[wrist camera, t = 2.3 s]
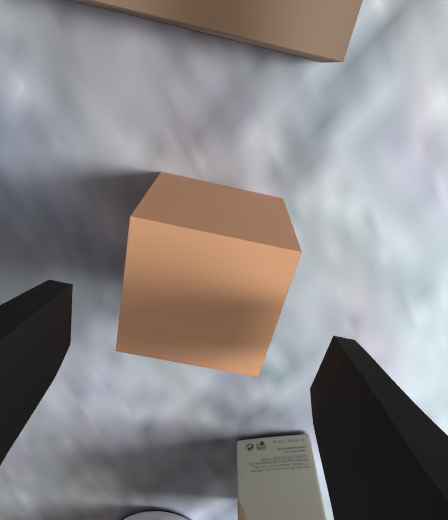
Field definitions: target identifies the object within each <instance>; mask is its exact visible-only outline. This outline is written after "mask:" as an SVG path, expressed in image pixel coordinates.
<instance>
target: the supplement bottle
mask: <svg viewBox="0 0 448 520" xmlns="http://www.w3.org/2000/svg"><path fill="white" fill-rule="evenodd" d="M124 520H188V519H186V518H184V517H182V516H179V515H176V514H173V513H169V512H161V511H148V512H141V513H137V514H134V515H131V516H129V517H127V518H125V519H124Z"/></svg>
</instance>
